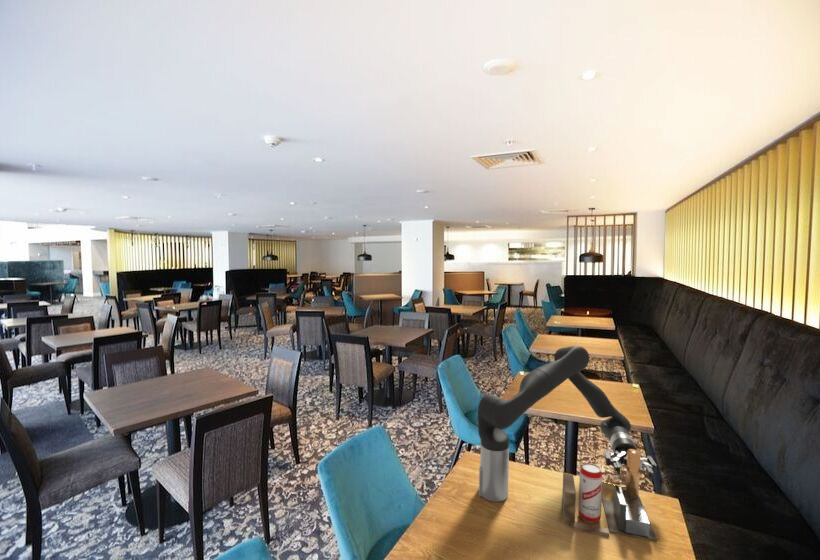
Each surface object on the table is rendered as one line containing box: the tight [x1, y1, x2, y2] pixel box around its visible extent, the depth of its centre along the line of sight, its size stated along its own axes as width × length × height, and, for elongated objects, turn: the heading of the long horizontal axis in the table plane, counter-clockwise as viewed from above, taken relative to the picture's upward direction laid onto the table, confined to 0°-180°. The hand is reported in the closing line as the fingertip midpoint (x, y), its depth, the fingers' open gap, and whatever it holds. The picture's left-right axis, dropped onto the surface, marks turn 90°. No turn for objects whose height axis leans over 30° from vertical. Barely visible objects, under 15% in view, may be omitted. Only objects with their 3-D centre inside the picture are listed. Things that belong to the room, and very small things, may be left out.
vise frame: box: [561, 472, 658, 542], centre depth 122 cm, size 24×17×10 cm
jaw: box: [613, 449, 651, 537], centre depth 120 cm, size 8×15×18 cm, turn 162°
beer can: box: [577, 462, 603, 524], centre depth 121 cm, size 6×6×16 cm
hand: (634, 473), depth 123 cm, fingers open, 8 cm apart
